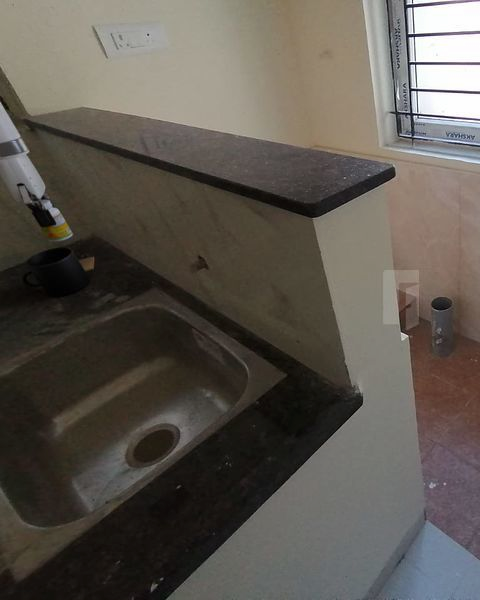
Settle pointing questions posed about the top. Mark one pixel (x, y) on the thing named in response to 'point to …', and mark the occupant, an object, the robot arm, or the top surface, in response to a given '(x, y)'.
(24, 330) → the top surface
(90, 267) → the cork trivet
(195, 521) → the top surface
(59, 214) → the supplement bottle
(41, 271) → the mug
